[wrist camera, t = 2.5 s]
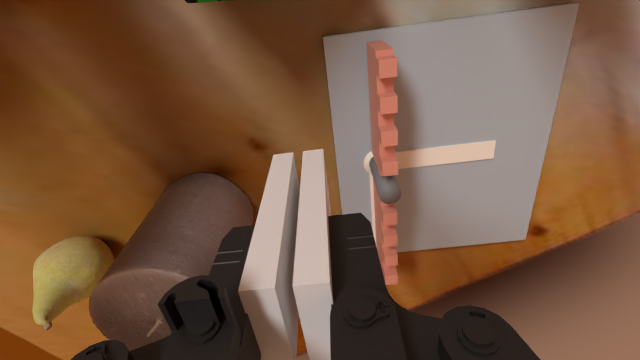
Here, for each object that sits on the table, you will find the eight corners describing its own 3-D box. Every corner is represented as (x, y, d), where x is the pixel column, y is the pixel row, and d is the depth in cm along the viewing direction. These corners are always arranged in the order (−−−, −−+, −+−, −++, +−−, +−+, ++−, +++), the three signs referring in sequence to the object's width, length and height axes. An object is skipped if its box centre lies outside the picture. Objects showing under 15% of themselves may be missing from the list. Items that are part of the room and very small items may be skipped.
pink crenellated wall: (371, 152, 31) (382, 183, 26) (366, 42, 26) (378, 53, 21) (384, 150, 31) (398, 181, 26) (381, 40, 26) (397, 51, 21)
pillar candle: (171, 245, 38) (99, 377, 25) (153, 169, 33) (52, 285, 20) (257, 246, 38) (230, 377, 25) (252, 171, 34) (215, 286, 20)
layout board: (346, 252, 39) (347, 258, 38) (322, 36, 27) (322, 37, 26) (521, 235, 38) (526, 240, 37) (573, 2, 26) (581, 3, 26)
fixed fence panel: (373, 249, 38) (383, 291, 32) (368, 154, 32) (378, 186, 27) (389, 248, 37) (401, 289, 32) (387, 152, 32) (401, 184, 26)
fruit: (50, 238, 37) (-53, 334, 27) (98, 211, 36) (8, 302, 25) (97, 276, 40) (20, 376, 30) (143, 252, 38) (79, 349, 28)
